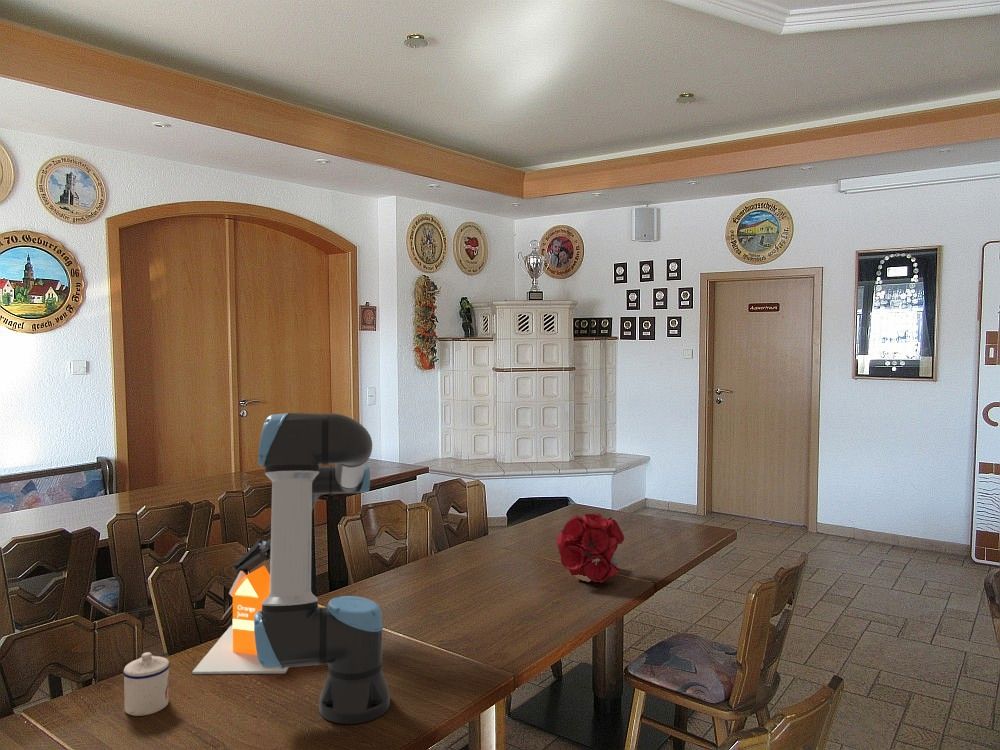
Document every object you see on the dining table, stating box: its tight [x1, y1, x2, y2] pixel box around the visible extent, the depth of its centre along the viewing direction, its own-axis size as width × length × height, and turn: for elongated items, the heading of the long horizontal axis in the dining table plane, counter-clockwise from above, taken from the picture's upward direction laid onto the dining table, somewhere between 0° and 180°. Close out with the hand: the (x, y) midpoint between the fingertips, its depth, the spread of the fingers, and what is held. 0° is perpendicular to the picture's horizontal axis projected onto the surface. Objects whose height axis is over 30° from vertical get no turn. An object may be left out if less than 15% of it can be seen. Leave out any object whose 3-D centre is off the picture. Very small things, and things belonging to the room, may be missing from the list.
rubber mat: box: [191, 624, 290, 675], centre depth 185 cm, size 28×22×1 cm
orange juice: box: [232, 565, 270, 655], centre depth 184 cm, size 8×9×20 cm
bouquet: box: [555, 513, 625, 584], centre depth 245 cm, size 22×24×30 cm
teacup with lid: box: [122, 651, 171, 717], centre depth 156 cm, size 12×9×12 cm
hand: (254, 599), depth 184 cm, fingers open, 13 cm apart
